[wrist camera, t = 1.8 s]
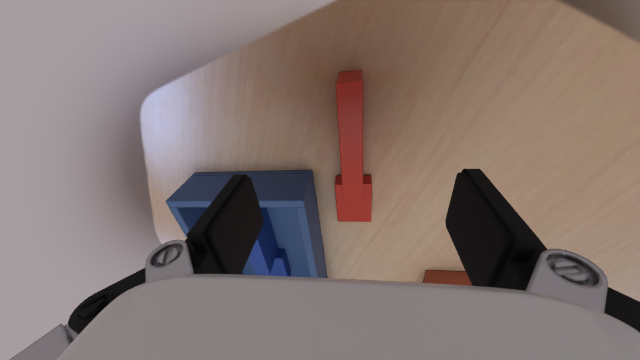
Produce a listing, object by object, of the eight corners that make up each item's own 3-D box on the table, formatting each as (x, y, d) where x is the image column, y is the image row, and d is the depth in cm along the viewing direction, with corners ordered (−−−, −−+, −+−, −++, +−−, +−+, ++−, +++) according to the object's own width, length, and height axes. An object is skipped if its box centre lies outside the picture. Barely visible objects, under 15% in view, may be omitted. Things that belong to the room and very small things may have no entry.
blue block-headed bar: (238, 188, 27) (221, 212, 23) (268, 187, 26) (256, 212, 23) (267, 270, 35) (258, 296, 32) (291, 271, 34) (284, 298, 31)
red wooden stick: (327, 72, 19) (322, 84, 16) (373, 68, 19) (376, 80, 16) (338, 211, 28) (336, 237, 24) (370, 211, 27) (372, 238, 24)
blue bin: (194, 172, 27) (164, 201, 23) (312, 169, 25) (303, 200, 21) (242, 276, 38) (229, 309, 34) (328, 281, 36) (324, 316, 32)
